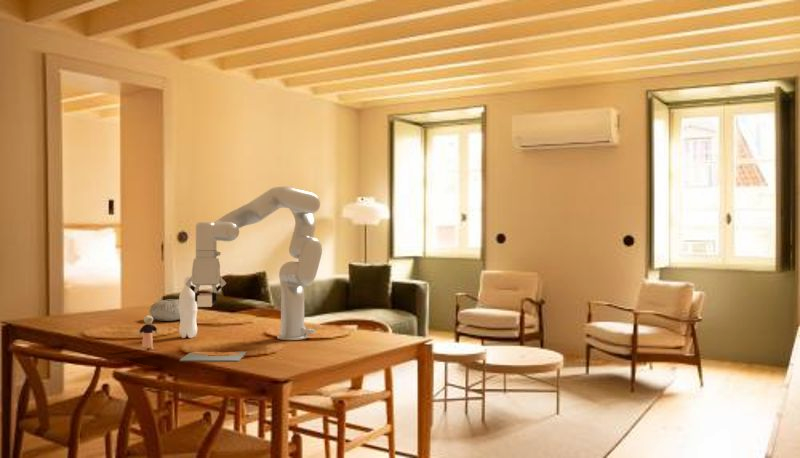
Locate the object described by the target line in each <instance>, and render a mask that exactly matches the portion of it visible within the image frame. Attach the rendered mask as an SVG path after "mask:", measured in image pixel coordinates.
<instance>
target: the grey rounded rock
mask: <svg viewBox="0 0 800 458" xmlns="http://www.w3.org/2000/svg"><path fill="white" fill-rule="evenodd" d="M179 307H180V298H177V299H176V298H175V299H174V298H169V299H161V300H159V301H156V302H154V303H153V304H152V305H150V309H149V315H150V316H151V317H153V320H156V321H159V322H174V321H178V320H179V321H180V313H179Z"/></svg>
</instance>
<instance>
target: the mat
mask: <svg viewBox="0 0 800 458" xmlns="http://www.w3.org/2000/svg"><path fill="white" fill-rule="evenodd" d="M236 352H237V353H239V354H240V353H241V354H240V355H229V356H208V355H202V354H195V353H190V352H189V353H187V354H186V355H185V356H183V357H181V358H180V359H179V362H230V363H231V362H234V363H235V362H240V361H241V359H242V358H244V356H245V355H244V354H245V353H246V352H247V351H236ZM243 355H244V356H243Z"/></svg>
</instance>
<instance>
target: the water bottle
mask: <svg viewBox="0 0 800 458" xmlns="http://www.w3.org/2000/svg"><path fill="white" fill-rule="evenodd" d="M190 277H191V276H184V281H183V283H184V285H183V287H182V289H181V291H180V294H179V297H178V299H179V300H180V307H179V313H180V320H179V327H178V332H179V335H180V337H181V338H182V339H186V338H187V337H188V339H192V338H196V336H197V334H198V325H197V316H198V315H197V314H198V307H197V301H195V293H194V291H193V290H191V289H190V288H189V287H188V286H187V285H186V282H187V281H188V280H189V279H190ZM191 284H192V282H191ZM192 285H193V286H194V284H192Z"/></svg>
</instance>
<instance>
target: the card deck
mask: <svg viewBox="0 0 800 458" xmlns="http://www.w3.org/2000/svg"><path fill="white" fill-rule="evenodd" d="M212 306H214V304H213V303H212V293H200V295H198V296H197V308H208V307H209V308H211V307H212Z"/></svg>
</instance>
